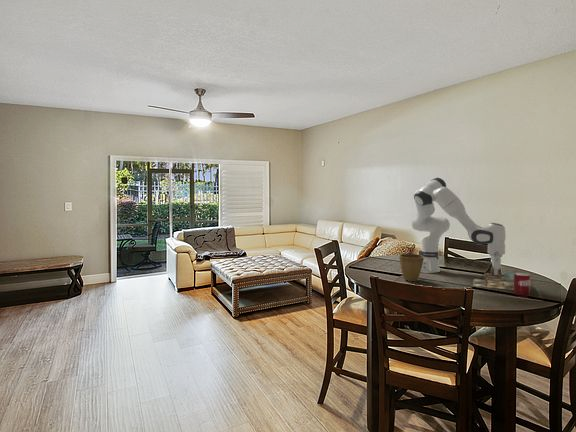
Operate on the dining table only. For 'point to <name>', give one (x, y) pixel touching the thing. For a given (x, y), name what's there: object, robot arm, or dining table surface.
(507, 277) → the lid
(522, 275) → the soda can
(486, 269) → the dining table surface
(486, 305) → the dining table surface
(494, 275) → the block
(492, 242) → the robot arm
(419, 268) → the plant pot
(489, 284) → the board
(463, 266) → the dining table surface
